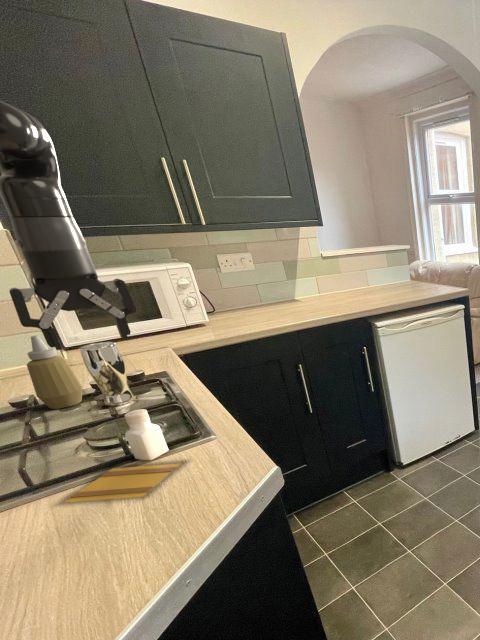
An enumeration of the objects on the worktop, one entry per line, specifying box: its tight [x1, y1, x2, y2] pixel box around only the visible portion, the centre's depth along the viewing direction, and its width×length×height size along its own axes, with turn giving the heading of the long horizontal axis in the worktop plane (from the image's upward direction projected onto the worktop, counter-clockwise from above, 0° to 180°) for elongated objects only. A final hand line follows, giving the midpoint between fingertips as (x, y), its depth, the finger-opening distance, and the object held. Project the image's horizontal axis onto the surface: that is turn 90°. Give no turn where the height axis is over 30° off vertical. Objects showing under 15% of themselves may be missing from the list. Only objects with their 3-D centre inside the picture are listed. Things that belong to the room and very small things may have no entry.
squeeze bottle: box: [26, 335, 83, 410], centre depth 103 cm, size 8×8×18 cm
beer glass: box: [78, 341, 137, 407], centre depth 105 cm, size 7×7×15 cm
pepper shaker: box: [124, 408, 170, 461], centre depth 79 cm, size 4×4×10 cm
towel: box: [64, 463, 181, 504], centre depth 73 cm, size 12×10×1 cm
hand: (92, 343), depth 74 cm, fingers open, 8 cm apart
